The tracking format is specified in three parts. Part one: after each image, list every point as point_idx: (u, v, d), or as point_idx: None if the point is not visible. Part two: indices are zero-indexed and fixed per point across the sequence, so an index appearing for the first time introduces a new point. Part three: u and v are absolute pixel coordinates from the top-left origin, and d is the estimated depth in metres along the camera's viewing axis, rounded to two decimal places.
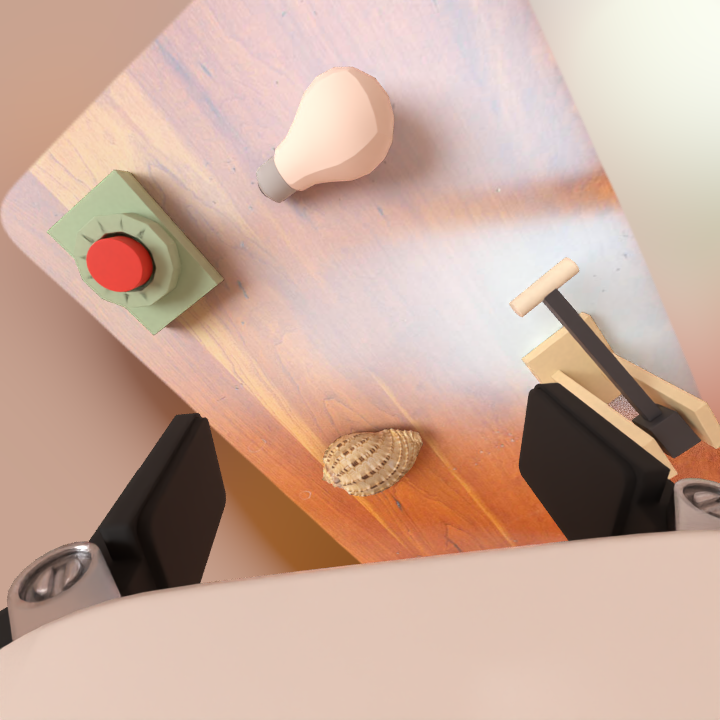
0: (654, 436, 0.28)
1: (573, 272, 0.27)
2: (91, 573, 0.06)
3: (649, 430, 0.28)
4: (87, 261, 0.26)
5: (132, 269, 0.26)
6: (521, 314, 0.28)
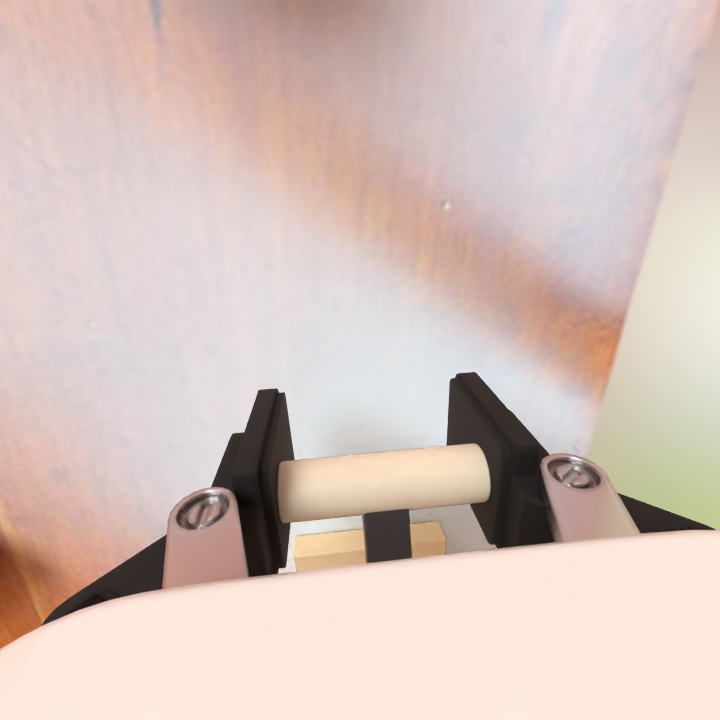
0: None
1: (471, 500, 0.09)
2: (234, 509, 0.07)
3: None
4: None
5: None
6: (281, 518, 0.09)
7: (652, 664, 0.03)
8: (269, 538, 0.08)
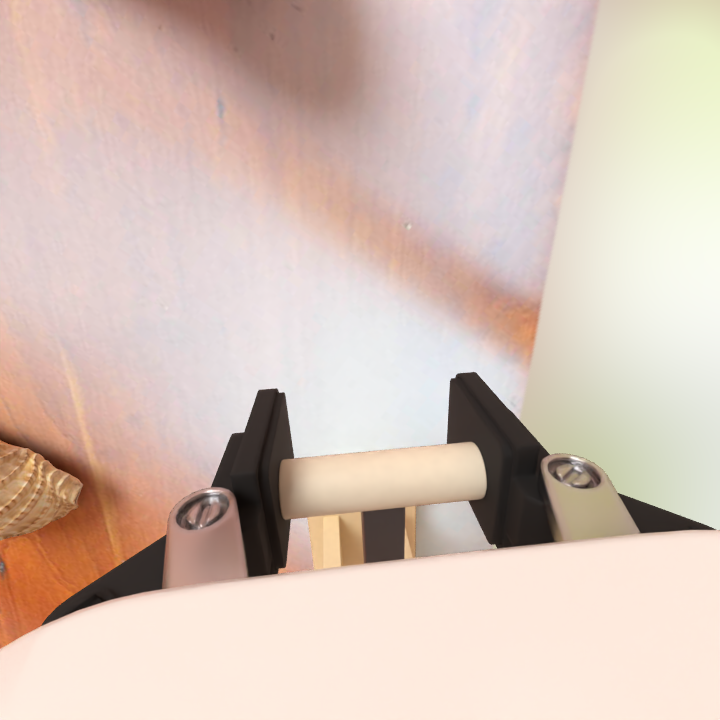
0: None
1: (465, 500, 0.10)
2: (233, 509, 0.07)
3: None
4: None
5: None
6: None
7: (652, 664, 0.03)
8: (269, 538, 0.08)
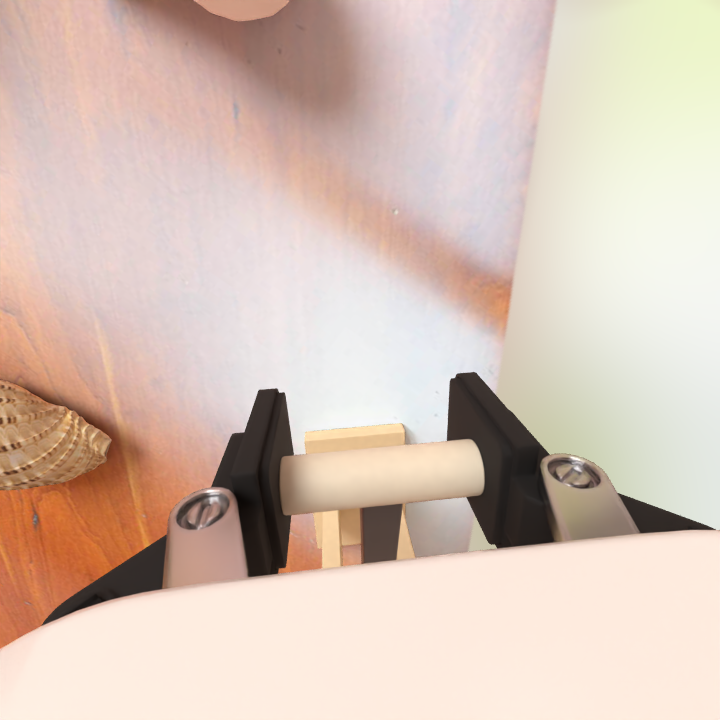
0: None
1: (462, 496, 0.10)
2: (234, 508, 0.07)
3: None
4: None
5: None
6: None
7: (651, 664, 0.03)
8: (269, 538, 0.08)
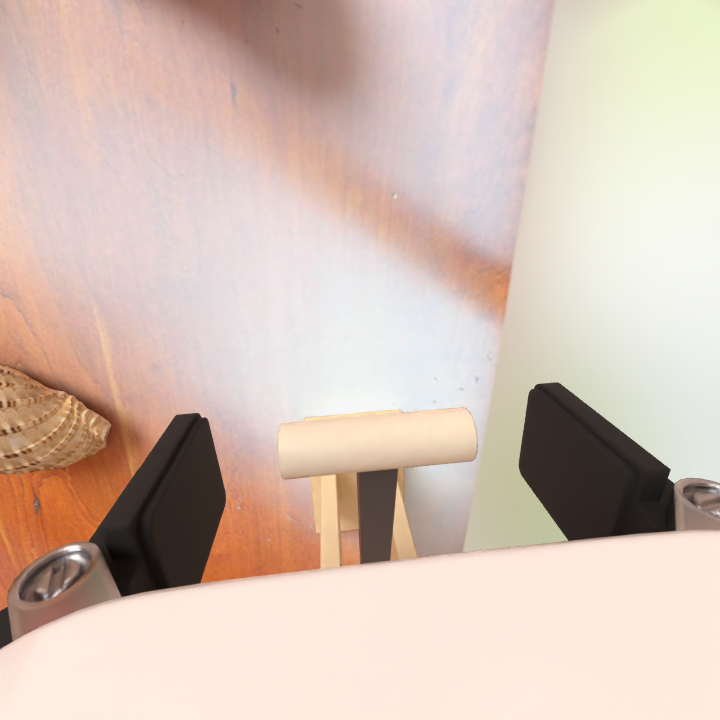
0: None
1: (456, 462, 0.10)
2: (91, 573, 0.06)
3: None
4: None
5: None
6: None
7: (652, 664, 0.03)
8: None
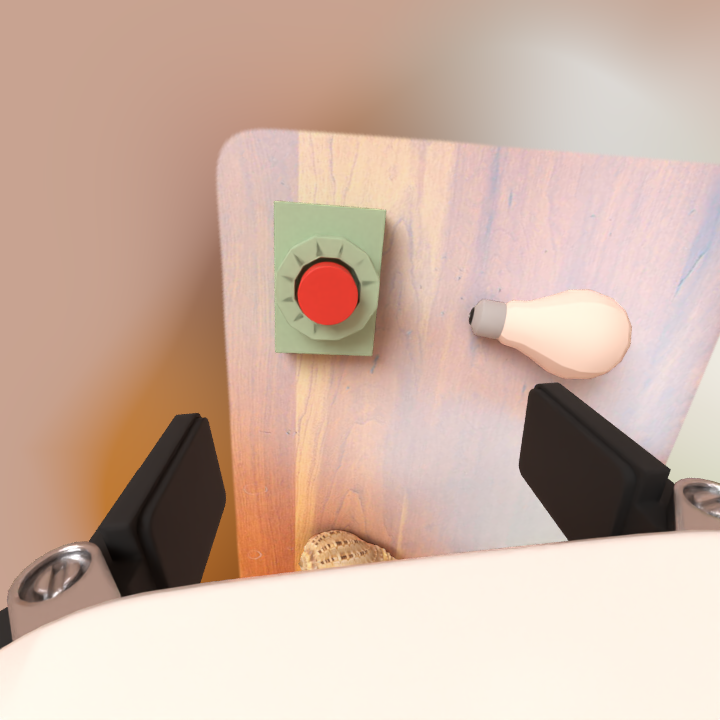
0: None
1: None
2: (91, 573, 0.06)
3: None
4: (309, 275, 0.22)
5: (340, 311, 0.23)
6: None
7: (652, 664, 0.03)
8: None
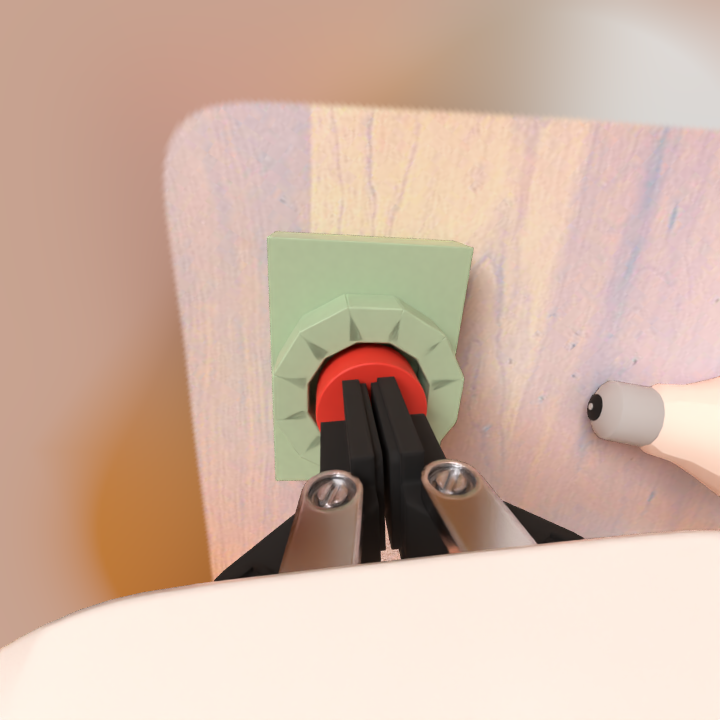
0: None
1: None
2: (363, 489, 0.07)
3: None
4: (337, 379, 0.12)
5: None
6: None
7: (652, 664, 0.03)
8: None
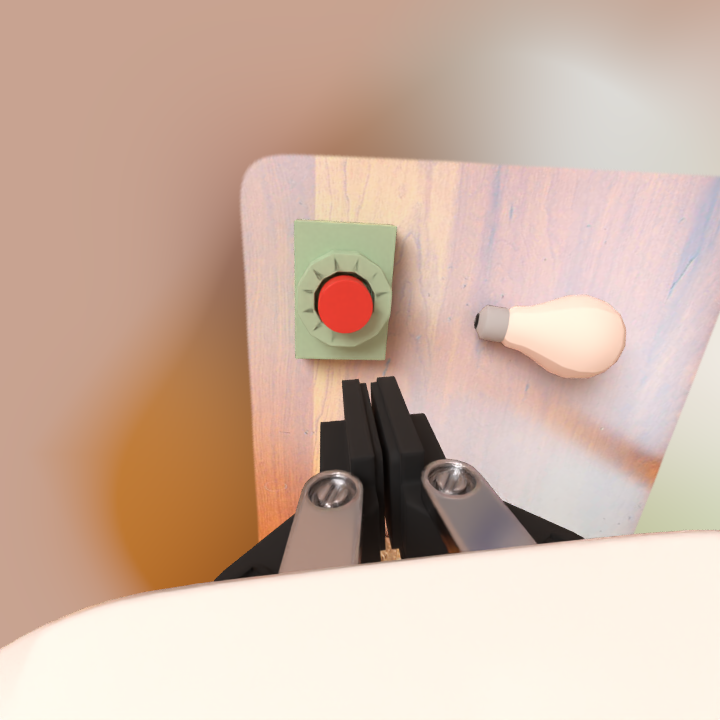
0: None
1: None
2: (363, 489, 0.07)
3: None
4: (328, 288, 0.24)
5: (356, 320, 0.25)
6: None
7: (652, 664, 0.03)
8: None
